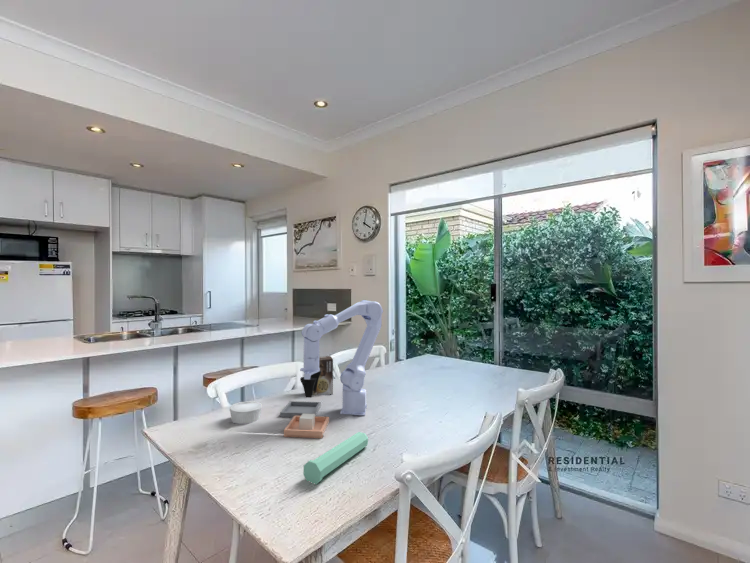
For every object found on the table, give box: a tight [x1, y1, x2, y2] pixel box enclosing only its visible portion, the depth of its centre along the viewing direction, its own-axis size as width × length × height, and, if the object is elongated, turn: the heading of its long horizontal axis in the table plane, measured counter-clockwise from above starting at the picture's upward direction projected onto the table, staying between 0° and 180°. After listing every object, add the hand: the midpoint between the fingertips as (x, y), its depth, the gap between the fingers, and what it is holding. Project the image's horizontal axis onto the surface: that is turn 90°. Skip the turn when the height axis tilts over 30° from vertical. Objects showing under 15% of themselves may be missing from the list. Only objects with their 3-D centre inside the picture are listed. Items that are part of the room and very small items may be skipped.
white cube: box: [299, 414, 315, 430], centre depth 124 cm, size 4×4×4 cm
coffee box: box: [312, 355, 334, 396], centre depth 163 cm, size 9×6×16 cm
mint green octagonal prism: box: [302, 431, 369, 485], centre depth 103 cm, size 6×6×25 cm
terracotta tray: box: [283, 415, 330, 439], centre depth 124 cm, size 13×13×2 cm
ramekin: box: [229, 400, 263, 425], centre depth 131 cm, size 11×11×5 cm
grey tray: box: [279, 400, 322, 418], centre depth 139 cm, size 13×13×2 cm
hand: (311, 393), depth 133 cm, fingers open, 7 cm apart
